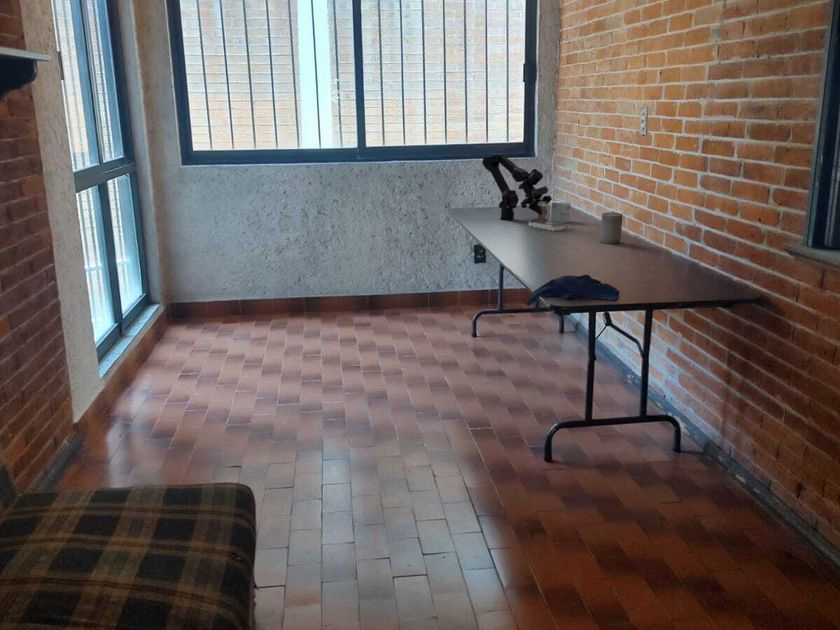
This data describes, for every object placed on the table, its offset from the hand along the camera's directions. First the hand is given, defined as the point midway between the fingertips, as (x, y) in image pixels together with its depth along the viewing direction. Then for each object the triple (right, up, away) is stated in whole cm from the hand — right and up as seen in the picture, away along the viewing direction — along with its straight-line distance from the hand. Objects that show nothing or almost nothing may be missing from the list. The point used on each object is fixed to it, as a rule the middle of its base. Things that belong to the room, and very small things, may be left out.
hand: (544, 214), depth 397 cm
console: (+1, -7, 0) cm, 7 cm away
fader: (-1, -4, +2) cm, 4 cm away
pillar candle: (+26, -18, -33) cm, 45 cm away
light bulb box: (+12, -1, +21) cm, 24 cm away
